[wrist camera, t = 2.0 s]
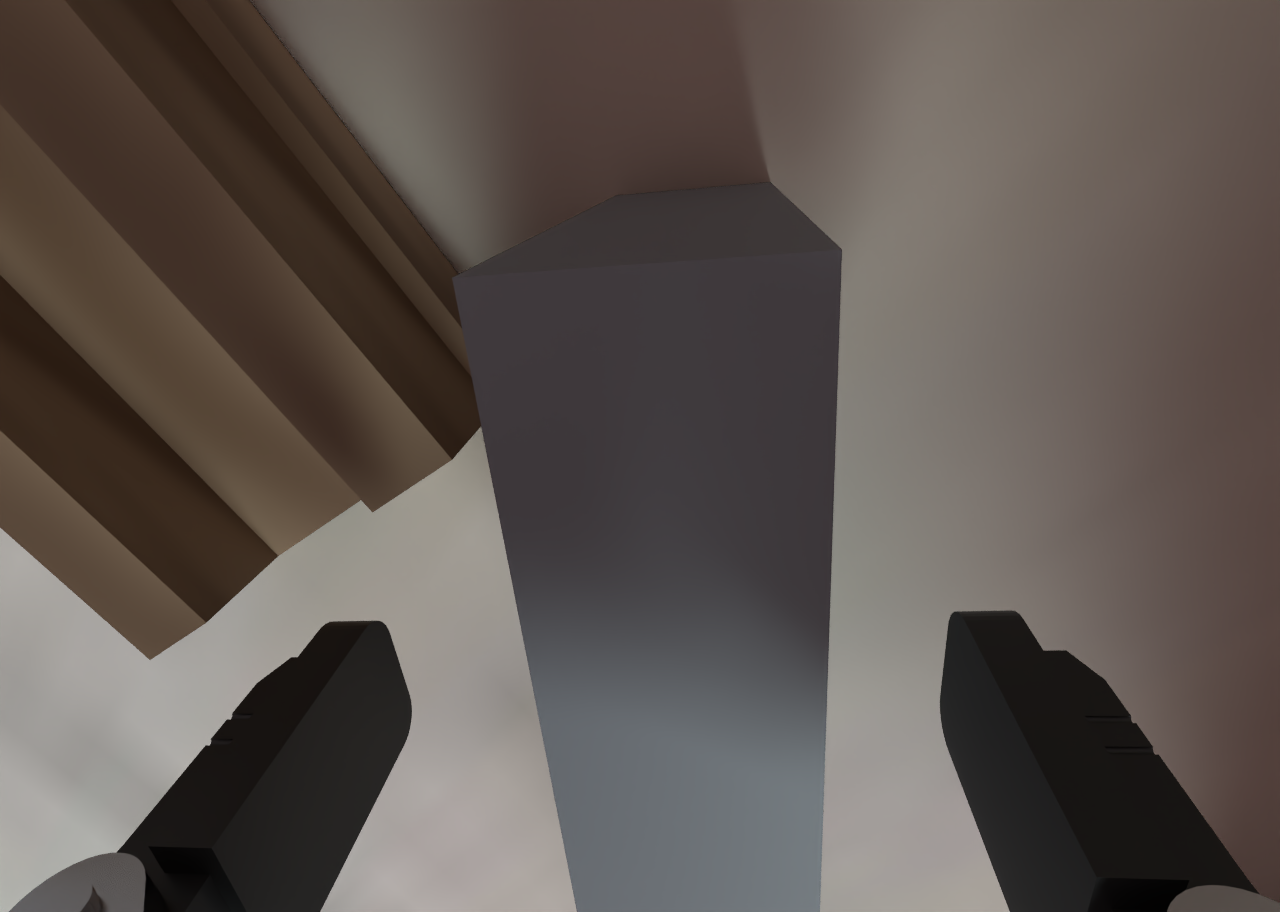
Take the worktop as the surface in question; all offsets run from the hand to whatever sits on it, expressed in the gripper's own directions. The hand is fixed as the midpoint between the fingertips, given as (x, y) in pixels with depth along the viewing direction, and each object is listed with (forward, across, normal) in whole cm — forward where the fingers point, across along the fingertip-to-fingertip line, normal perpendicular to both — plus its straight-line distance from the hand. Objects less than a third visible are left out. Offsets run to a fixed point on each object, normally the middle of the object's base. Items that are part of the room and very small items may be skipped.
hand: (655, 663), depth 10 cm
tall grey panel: (+7, -1, 0) cm, 7 cm away
